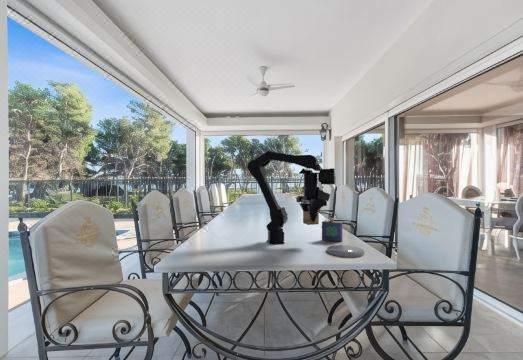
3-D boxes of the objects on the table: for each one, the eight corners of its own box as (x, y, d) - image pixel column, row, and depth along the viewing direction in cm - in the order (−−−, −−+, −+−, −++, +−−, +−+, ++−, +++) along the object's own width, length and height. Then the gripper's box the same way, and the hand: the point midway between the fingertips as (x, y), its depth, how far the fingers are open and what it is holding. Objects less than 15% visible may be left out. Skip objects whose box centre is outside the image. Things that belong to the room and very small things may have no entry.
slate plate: (338, 258, 104) (338, 255, 103) (321, 248, 117) (321, 246, 117) (371, 255, 107) (371, 252, 107) (351, 246, 121) (351, 243, 121)
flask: (342, 240, 131) (342, 217, 130) (342, 242, 128) (342, 218, 127) (321, 239, 133) (321, 216, 133) (321, 241, 130) (321, 217, 130)
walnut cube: (307, 224, 119) (307, 213, 119) (303, 222, 124) (303, 211, 124) (318, 224, 120) (318, 212, 120) (313, 222, 125) (313, 211, 125)
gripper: (338, 185, 115) (338, 223, 115) (318, 183, 133) (318, 216, 133) (313, 185, 112) (313, 224, 112) (295, 183, 130) (296, 217, 130)
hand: (310, 220), depth 122 cm, fingers closed on walnut cube, 5 cm apart
